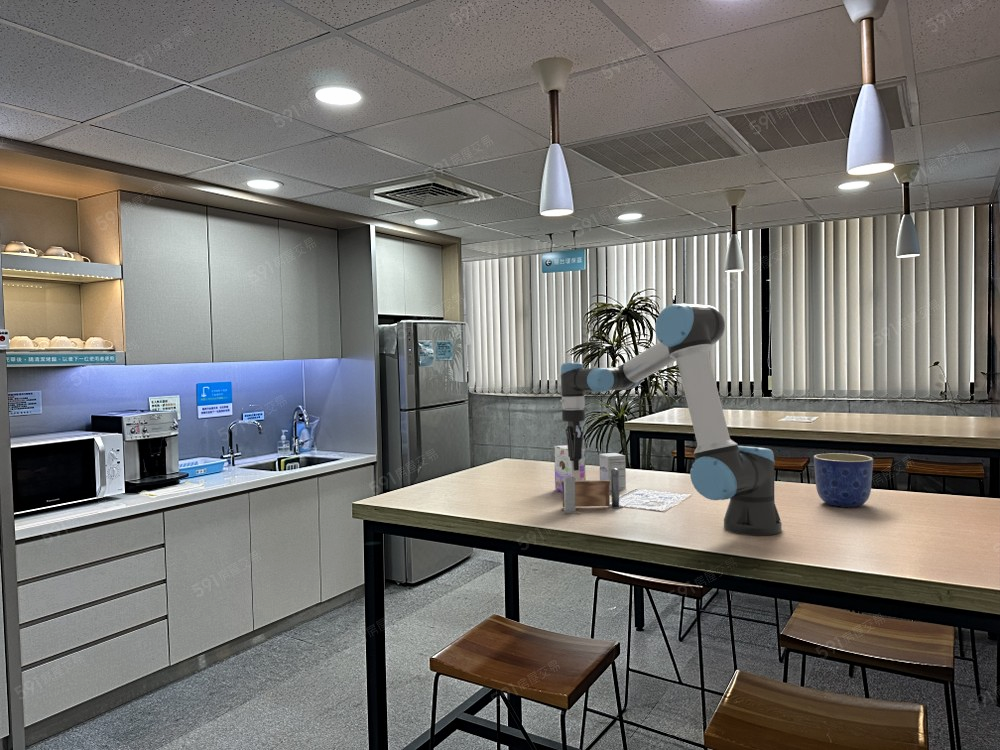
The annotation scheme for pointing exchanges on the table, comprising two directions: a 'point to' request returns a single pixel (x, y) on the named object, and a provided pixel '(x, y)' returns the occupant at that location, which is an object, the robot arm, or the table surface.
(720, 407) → the robot arm
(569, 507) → the stile
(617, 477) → the hinge post
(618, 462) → the supplement box
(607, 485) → the gate
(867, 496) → the planter
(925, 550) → the table surface
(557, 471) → the candy box
